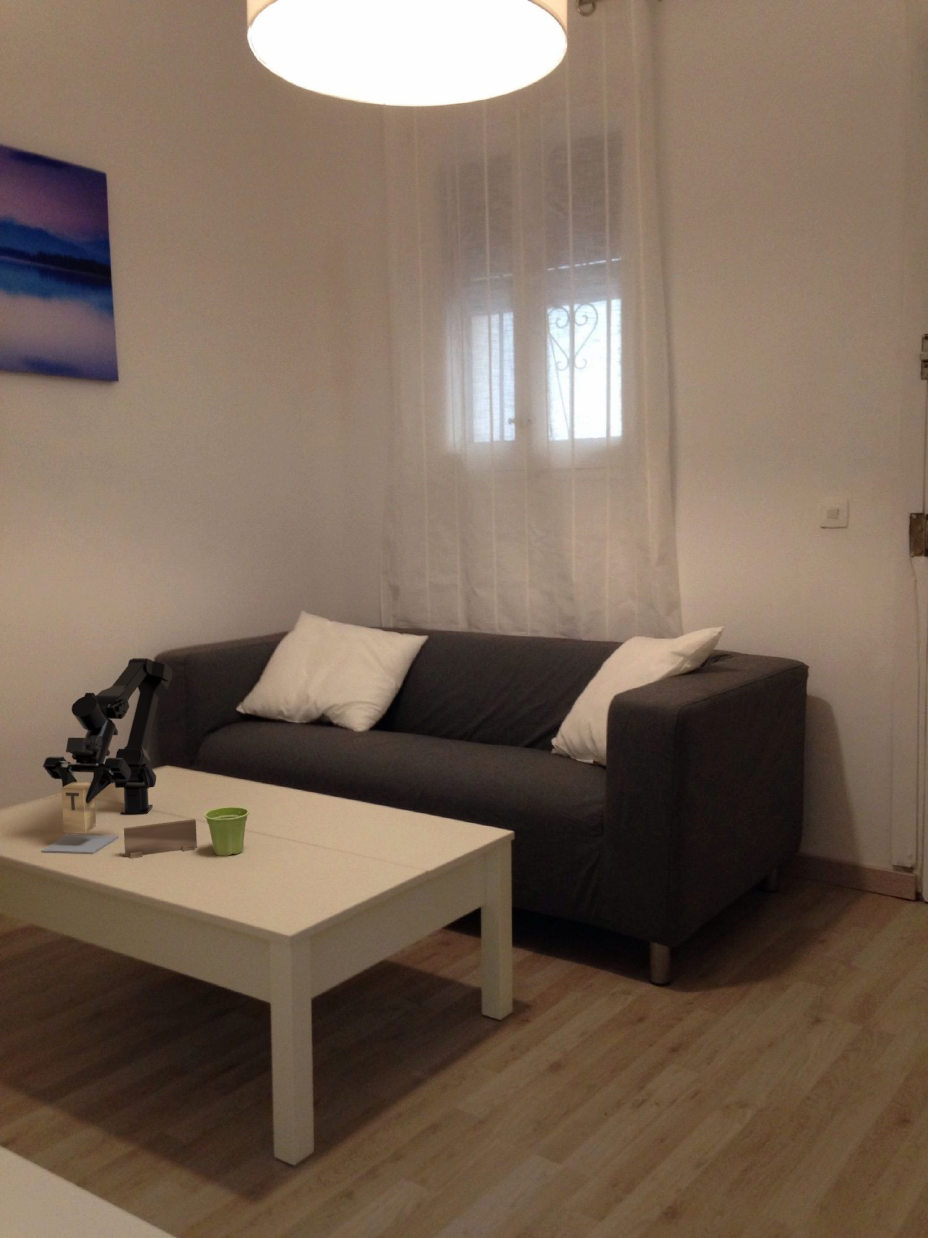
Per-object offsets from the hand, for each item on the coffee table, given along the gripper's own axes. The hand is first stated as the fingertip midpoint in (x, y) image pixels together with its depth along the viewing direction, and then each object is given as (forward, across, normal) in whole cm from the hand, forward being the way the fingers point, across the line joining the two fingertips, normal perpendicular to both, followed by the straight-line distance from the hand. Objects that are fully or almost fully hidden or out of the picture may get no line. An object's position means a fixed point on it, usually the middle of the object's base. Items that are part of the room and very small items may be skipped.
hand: (75, 801), depth 246 cm
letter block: (+4, 0, +6) cm, 7 cm away
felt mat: (+6, 0, +8) cm, 10 cm away
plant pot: (+7, +35, +7) cm, 36 cm away
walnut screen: (+8, +20, +6) cm, 23 cm away
